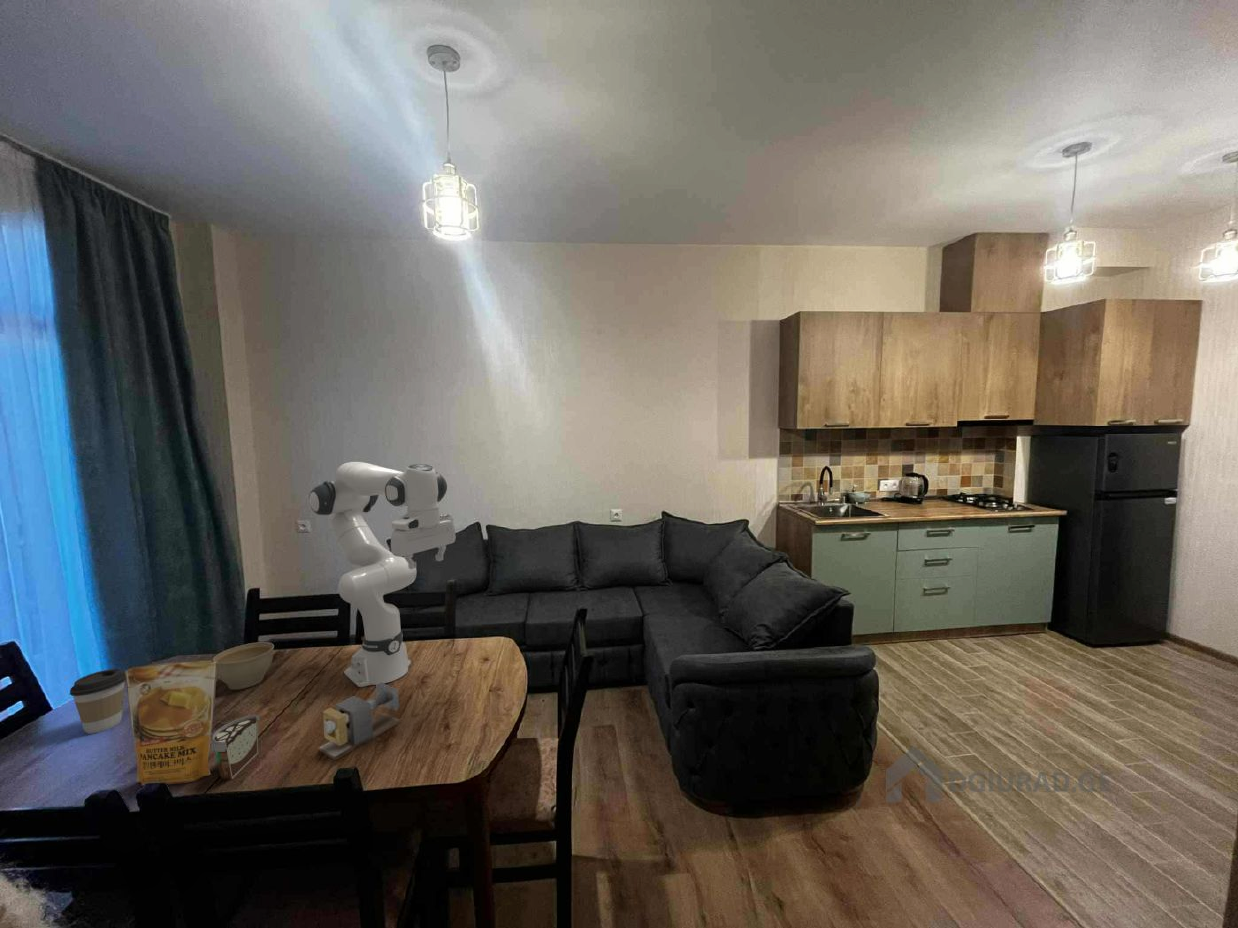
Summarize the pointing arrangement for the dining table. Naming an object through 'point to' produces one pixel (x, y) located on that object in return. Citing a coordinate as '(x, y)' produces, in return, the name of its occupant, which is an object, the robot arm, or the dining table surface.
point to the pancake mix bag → (172, 719)
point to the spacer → (340, 723)
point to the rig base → (378, 726)
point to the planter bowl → (244, 664)
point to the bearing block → (357, 719)
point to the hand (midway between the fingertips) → (426, 564)
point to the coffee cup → (99, 699)
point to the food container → (236, 745)
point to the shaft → (374, 703)
